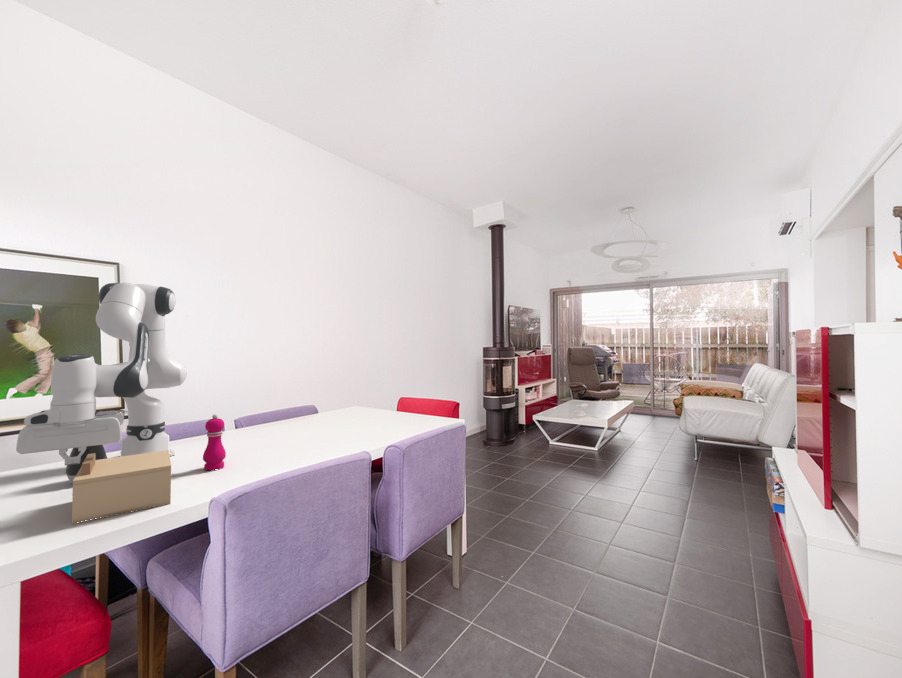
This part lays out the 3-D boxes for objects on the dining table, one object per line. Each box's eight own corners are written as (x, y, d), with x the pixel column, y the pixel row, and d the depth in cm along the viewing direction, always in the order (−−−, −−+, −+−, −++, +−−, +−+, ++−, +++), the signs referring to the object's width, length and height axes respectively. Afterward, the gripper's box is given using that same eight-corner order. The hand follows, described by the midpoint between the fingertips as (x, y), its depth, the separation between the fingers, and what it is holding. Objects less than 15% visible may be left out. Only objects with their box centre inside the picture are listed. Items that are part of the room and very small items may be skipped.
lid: (83, 465, 110) (84, 451, 110) (168, 453, 123) (168, 440, 123) (72, 485, 94) (73, 469, 95) (171, 468, 107) (171, 455, 107)
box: (83, 499, 110) (83, 465, 110) (167, 483, 123) (168, 453, 123) (71, 524, 94) (72, 485, 95) (170, 503, 107) (171, 469, 107)
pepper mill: (230, 465, 141) (231, 413, 141) (213, 472, 134) (214, 416, 134) (215, 464, 143) (215, 412, 143) (197, 470, 136) (198, 415, 136)
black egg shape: (77, 488, 118) (78, 440, 119) (57, 484, 122) (58, 437, 122) (115, 477, 128) (116, 433, 128) (96, 474, 131) (96, 431, 132)
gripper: (124, 408, 111) (123, 454, 111) (21, 416, 98) (20, 468, 98) (123, 411, 106) (122, 459, 106) (14, 419, 93) (13, 475, 93)
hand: (72, 464), depth 102 cm, fingers closed
